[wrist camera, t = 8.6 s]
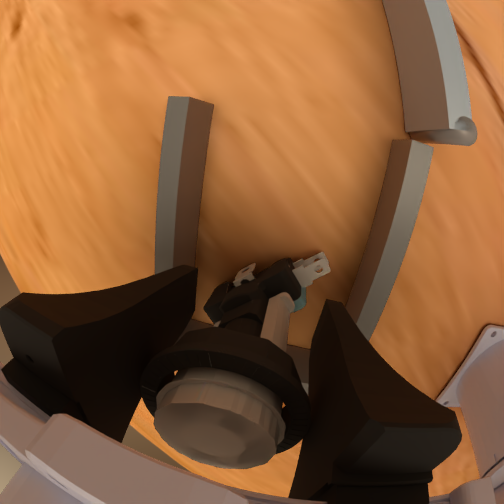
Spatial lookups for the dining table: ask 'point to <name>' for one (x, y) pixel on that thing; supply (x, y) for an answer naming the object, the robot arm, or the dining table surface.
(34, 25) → the dining table surface
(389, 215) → the duct bay
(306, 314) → the dining table surface
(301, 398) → the push button
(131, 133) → the dining table surface
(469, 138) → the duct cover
